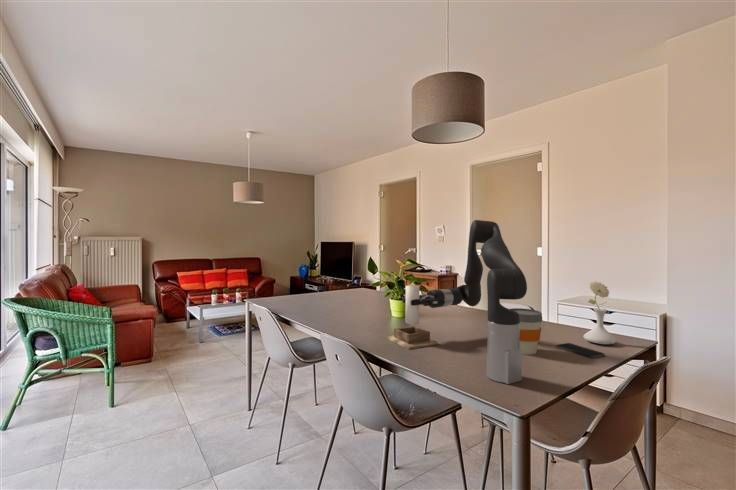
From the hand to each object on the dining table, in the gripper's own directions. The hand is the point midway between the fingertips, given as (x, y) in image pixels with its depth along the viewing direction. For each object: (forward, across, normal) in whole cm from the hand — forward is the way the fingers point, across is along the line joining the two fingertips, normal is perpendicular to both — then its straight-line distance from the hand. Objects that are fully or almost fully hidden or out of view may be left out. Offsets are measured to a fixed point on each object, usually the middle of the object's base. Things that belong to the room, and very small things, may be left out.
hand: (407, 301), depth 147 cm
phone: (-52, +39, +17) cm, 68 cm away
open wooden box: (-2, 0, +17) cm, 17 cm away
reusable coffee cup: (-33, +29, +17) cm, 47 cm away
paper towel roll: (-3, 0, +9) cm, 9 cm away
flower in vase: (-71, +35, +17) cm, 81 cm away
